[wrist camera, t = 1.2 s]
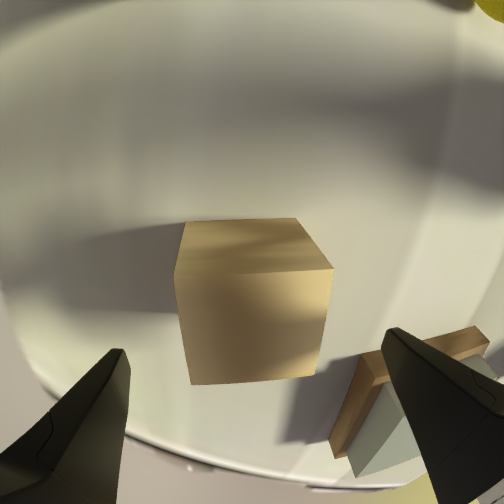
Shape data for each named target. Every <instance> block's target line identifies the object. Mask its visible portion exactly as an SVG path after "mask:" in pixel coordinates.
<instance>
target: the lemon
mask: <svg viewBox="0 0 504 504" xmlns="http://www.w3.org/2000/svg"><path fill="white" fill-rule="evenodd" d="M474 1H475V2H476V3H477V4H478V6H479V7H480V8H481V9H482V10H483V11H484V12H485V13H486V14H487V15H488V16H490V17H491V18H493V19H495V20H497V21H499V22H501V23H504V0H474Z"/></svg>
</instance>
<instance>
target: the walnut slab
mask: <svg viewBox="0 0 504 504" xmlns="http://www.w3.org/2000/svg"><path fill="white" fill-rule="evenodd" d="M422 341H423V342H425V343H427V344H429V345H431V346H432V347H434V348H436V349H438V350H440V351H441V352H443V353H445V354H447V355H449V356H450V357H452V358H454V359H456V360H458V361H460V360H463V359H466V358H469V357H471V356H474V355H476V354H480V355H481V357H482V356H483V354H484V352H485V351H486V349H487V347H488V345H489V343H490V341H489V340H488V339H487V338H486V337H485V336H484V335H483V334H482V332H481V331H480V330H479V329H478V328H477V327H476V326H472V327H469V328H466V329H462V330H459V331H456V332H452V333H449V334H445V335H441V336H438V337H434V338H430V339H426V340H422ZM387 382H391V379H390V376H389V373H388V370H387V367H386V364H385V361H384V358H383V355H382V352H381V350H378V351H373V352H367V353H362V354H361V357H360V360H359V363H358V366H357V369H356V371H355V374H354V377H353V380H352V382H351V385H350V388H349V391H348V393H347V396H346V398H345V401H344V403H343V406H342V408H341V411H340V413H339V416H338V418H337V421H336V423H335V425H334V428H333V430H332V432H331V434H330V437H329V439H328V440H329V443H330V446H331V449H332V452H333V455H334V458H335V459H337V458H341V457H345V456H347V453H346V451H347V449H348V448H349V446H350V444H351V443H352V441H353V440H354V438H355V436H356V435H357V433H358V431H359V430H360V428H361V426H362V424H363V423H364V421H365V419H366V417H367V416H368V414H369V412H370V410H371V408H372V406H373V405H374V403H375V401H376V399H377V397H378V395H379V393H380V391H381V389H382V387H383V385H384V383H387Z"/></svg>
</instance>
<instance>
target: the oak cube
mask: <svg viewBox="0 0 504 504" xmlns="http://www.w3.org/2000/svg"><path fill="white" fill-rule="evenodd" d="M333 273H334V268H333V267H332V265H331V264H330V263H329V261H328V260H327V258H326V257H325V256H324V254H323V253H322V252H321V250H320V249H319V248H318V246H317V245H316V244H315V242H314V241H313V240H312V239H311V237H310V236H309V235H308V233H307V232H306V231H305V229H304V228H303V227H302V226H301V224H300V223H299V222H298V220H297V219H296V218H284V219H246V220H218V221H195V222H186V224H185V228H184V232H183V236H182V240H181V244H180V249H179V253H178V257H177V262H176V266H175V270H174V275H173V280H174V288H175V295H176V302H177V308H178V315H179V321H180V327H181V333H182V339H183V345H184V350H185V356H186V361H187V366H188V371H189V376H190V381H191V385H211V384H231V383H246V382H258V381H269V380H278V379H287V378H295V377H303V376H310V375H314V374H315V369H316V365H317V360H318V355H319V351H320V346H321V341H322V336H323V331H324V326H325V320H326V315H327V309H328V304H329V298H330V292H331V286H332V280H333Z"/></svg>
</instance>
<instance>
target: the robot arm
mask: <svg viewBox="0 0 504 504" xmlns="http://www.w3.org/2000/svg"><path fill="white" fill-rule="evenodd" d="M381 352H382V355H383V358H384V361H385V364H386V367H387V370H388V373H389V376H390V379H391V382H392V385H393V388H394V390H395V392H396V395H397V397H398V399H399V401H400V404H401V406H402V408H403V411H404V413H405V416H406V418H407V420H408V423H409V425H410V428H411V430H412V433H413V435H414V438H415V440H416V443H417V445H418V448H419V450H420V453H421V456H422V458H423V461H424V463H425V466H426V469H427V472H428V474H429V477H430V480H431V483H432V486H433V489H434V492H435V495H436V498H437V501H438V504H468V503H470V502H471V501H473V500H474V499H476V498H477V499H478V501H479V503H480V504H504V385H503V384H501V383H499V382H497V381H495V380H493V379H490V378H488V377H486V376H485V375H483V374H481V373H479V372H477V371H475V370H474V369H472V368H471V369H470V367H468V366H466V365H465V364H463V363H461V362H459V361H458V360H456V359H454V358H452V357H450V356H449V355H447V354H445V353H443V352H441V351H440V350H438V349H436V348H434V347H432V346H431V345H429V344H427V343H425V342H423V341H422V340H420V339H418V338H416V337H415V336H413V335H411V334H409V333H407V332H406V331H404V330H402V329H400V328H398V327H395V328H390V329H388V330H387V331H386V333H385V336H384V339H383V342H382V345H381ZM130 375H131V368H130V364H129V362H128V359H127V356H126V353H125V351H124V350H123V349H116V348H113V349H111V350H110V351H109V352H108V353H107V354H106V355H104V356H103V357H102V358H101V359H100V360H99V361H98V362H97V363H96V364H95V365H94V366H93V367H92V368H91V369H90V370H89V371H88V372H87V373H86V374H85V375H84V376H83V377H82V378H81V379H80V380H79V381H78V382H77V383H76V384H75V385H74V386H73V387H72V388H71V389H70V390H69V391H68V392H67V393H66V394H65V395H64V396H63V397H62V398H61V399H60V400H59V401H58V402H57V403H56V404H55V405H54V406H53V407H52V408H51V409H50V410H49V412H47V413H46V414H45V415H44V416H43V417H42V418H41V419H40V420H39V421H38V422H37V423H36V424H35V425H34V426H33V427H32V428H30V429H29V430H28V431H27V432H26V433H25V434H24V435H22V436H21V437H20V438H19V439H18V440H16V441H15V442H14V443H13V444H12V445H10V446H9V447H8V448H7V449H6V450H4V451H3V452H2V453H0V504H116V499H117V488H118V478H119V470H120V462H121V455H122V447H123V441H124V434H125V428H126V422H127V415H128V406H129V389H130Z"/></svg>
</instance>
